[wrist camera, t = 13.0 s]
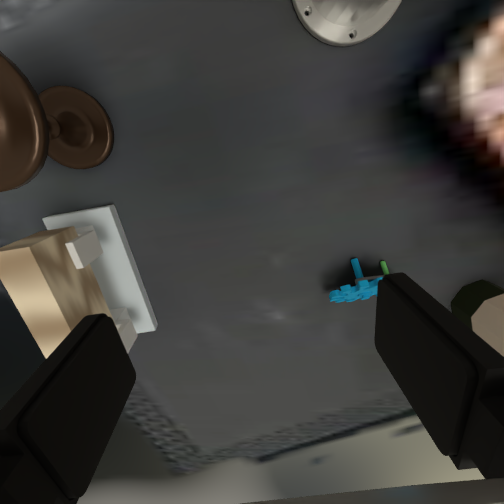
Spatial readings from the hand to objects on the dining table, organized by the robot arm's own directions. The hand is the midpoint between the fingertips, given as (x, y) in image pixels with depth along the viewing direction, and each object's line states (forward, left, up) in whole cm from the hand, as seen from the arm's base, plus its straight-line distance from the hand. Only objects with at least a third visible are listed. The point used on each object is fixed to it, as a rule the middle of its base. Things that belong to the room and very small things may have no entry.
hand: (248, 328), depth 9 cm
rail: (+8, -22, -23) cm, 32 cm away
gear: (+16, +15, -29) cm, 37 cm away
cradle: (+8, -22, -29) cm, 37 cm away
